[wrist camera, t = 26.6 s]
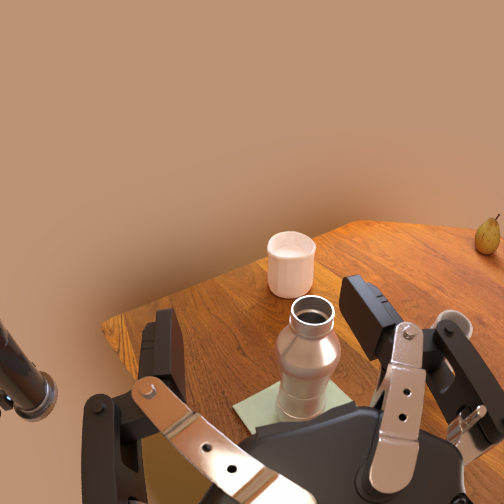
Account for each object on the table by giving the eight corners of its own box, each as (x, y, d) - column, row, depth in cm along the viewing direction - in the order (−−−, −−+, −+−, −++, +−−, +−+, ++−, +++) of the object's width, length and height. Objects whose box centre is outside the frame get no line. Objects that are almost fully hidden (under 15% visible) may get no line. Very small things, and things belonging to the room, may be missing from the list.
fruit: (472, 253, 62) (484, 215, 55) (471, 239, 68) (480, 204, 61) (496, 261, 57) (508, 224, 51) (493, 247, 63) (503, 212, 57)
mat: (280, 472, 26) (280, 471, 26) (232, 407, 35) (232, 405, 35) (363, 413, 32) (364, 412, 32) (311, 363, 41) (312, 361, 41)
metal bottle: (294, 443, 30) (310, 354, 19) (265, 408, 35) (258, 303, 24) (332, 416, 32) (368, 314, 22) (302, 385, 37) (314, 276, 27)
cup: (279, 306, 53) (278, 263, 48) (259, 277, 61) (256, 237, 56) (322, 291, 55) (326, 250, 50) (298, 266, 64) (299, 227, 58)
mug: (458, 368, 35) (490, 317, 28) (414, 406, 31) (449, 357, 25) (431, 341, 41) (455, 289, 34) (385, 373, 37) (410, 320, 31)
